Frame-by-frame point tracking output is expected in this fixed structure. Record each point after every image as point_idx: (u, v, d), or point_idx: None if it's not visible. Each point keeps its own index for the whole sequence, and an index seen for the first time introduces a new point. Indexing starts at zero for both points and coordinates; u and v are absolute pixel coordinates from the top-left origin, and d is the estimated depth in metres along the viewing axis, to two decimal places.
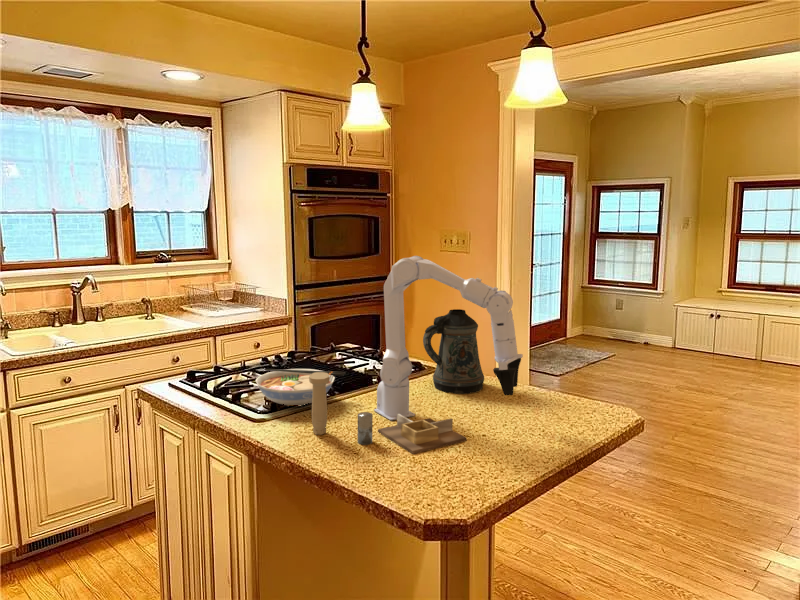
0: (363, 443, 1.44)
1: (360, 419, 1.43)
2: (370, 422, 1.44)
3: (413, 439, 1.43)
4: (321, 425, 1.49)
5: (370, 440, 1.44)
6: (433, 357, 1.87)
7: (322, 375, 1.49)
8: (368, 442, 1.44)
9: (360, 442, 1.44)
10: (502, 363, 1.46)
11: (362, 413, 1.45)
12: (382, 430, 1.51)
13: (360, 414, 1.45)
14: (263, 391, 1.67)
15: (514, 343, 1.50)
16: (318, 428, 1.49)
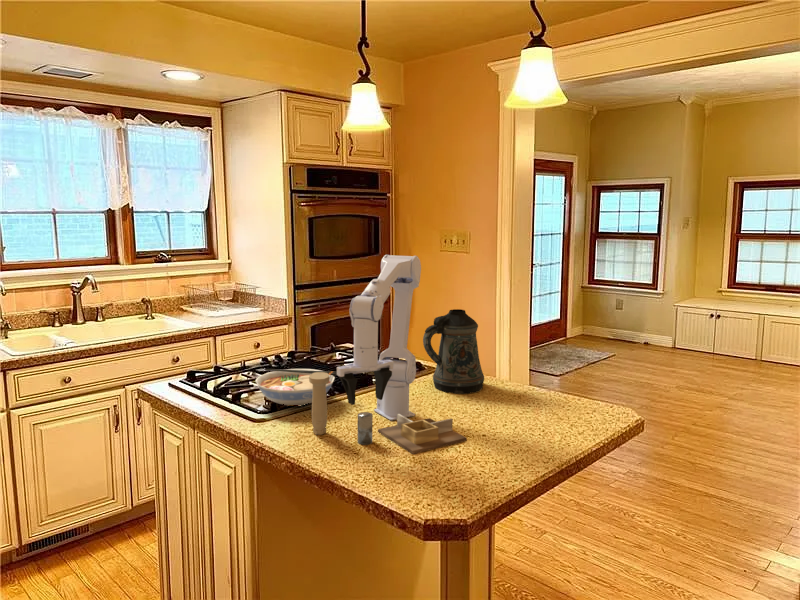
0: (363, 443, 1.44)
1: (360, 419, 1.43)
2: (370, 422, 1.44)
3: (413, 439, 1.43)
4: (321, 425, 1.49)
5: (370, 440, 1.44)
6: (433, 357, 1.87)
7: (322, 375, 1.49)
8: (368, 442, 1.44)
9: (360, 442, 1.44)
10: (338, 369, 1.39)
11: (362, 413, 1.45)
12: (382, 430, 1.51)
13: (360, 414, 1.45)
14: (263, 391, 1.67)
15: (367, 353, 1.39)
16: (318, 428, 1.49)
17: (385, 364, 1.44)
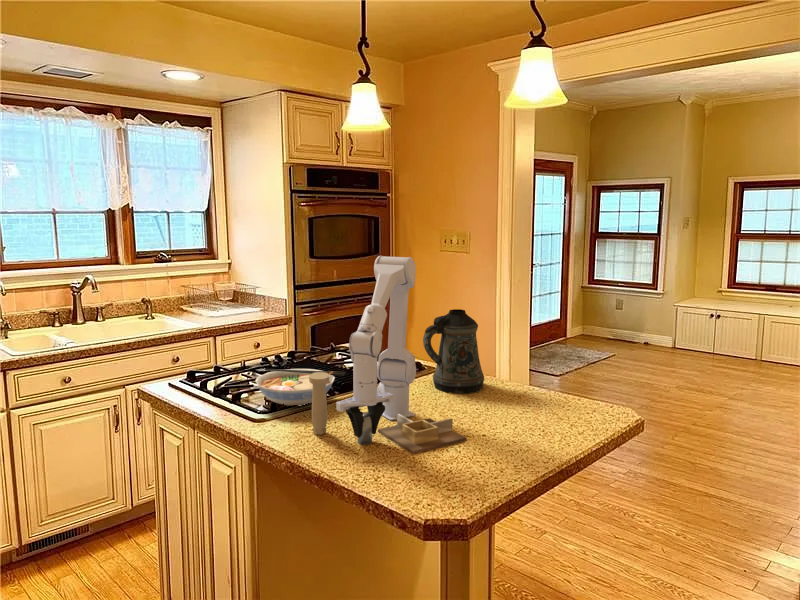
0: (363, 443, 1.44)
1: None
2: (370, 422, 1.44)
3: (413, 439, 1.43)
4: (321, 425, 1.49)
5: (370, 440, 1.44)
6: (433, 357, 1.87)
7: (322, 375, 1.49)
8: (368, 442, 1.44)
9: (360, 442, 1.44)
10: (338, 404, 1.40)
11: None
12: (382, 430, 1.51)
13: None
14: (263, 391, 1.67)
15: (366, 388, 1.41)
16: (318, 428, 1.49)
17: (384, 398, 1.45)
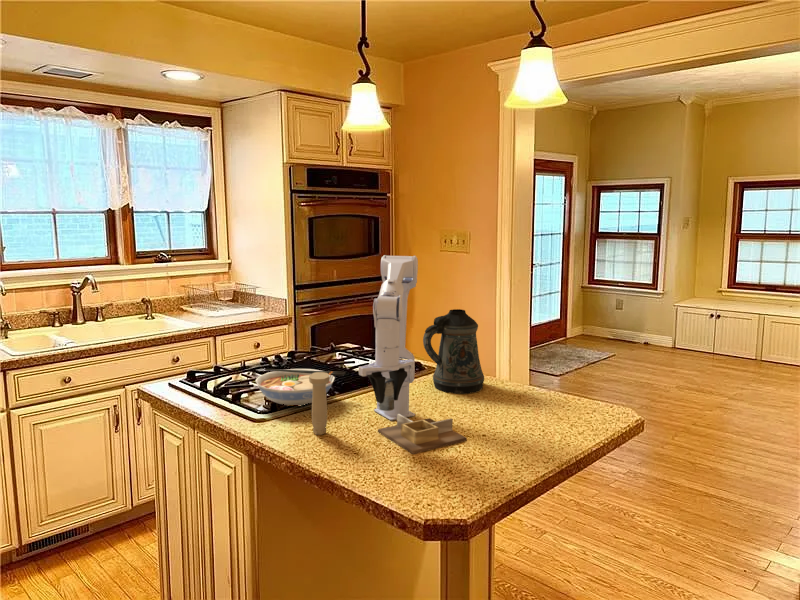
0: (385, 409, 1.43)
1: None
2: (392, 388, 1.43)
3: (413, 439, 1.43)
4: (321, 425, 1.49)
5: (392, 406, 1.44)
6: (433, 357, 1.87)
7: (322, 375, 1.49)
8: (390, 408, 1.43)
9: (382, 408, 1.43)
10: (360, 368, 1.40)
11: None
12: (382, 430, 1.51)
13: None
14: (263, 391, 1.67)
15: (388, 353, 1.40)
16: (318, 428, 1.49)
17: (406, 364, 1.44)
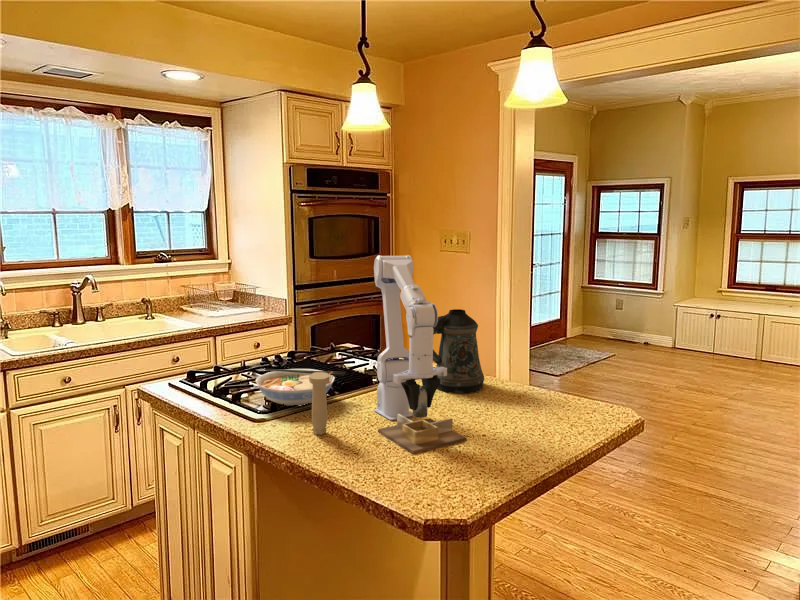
0: (419, 416, 1.44)
1: None
2: (426, 395, 1.44)
3: (413, 439, 1.43)
4: (321, 425, 1.49)
5: (426, 413, 1.45)
6: (433, 357, 1.87)
7: (322, 375, 1.49)
8: (424, 415, 1.44)
9: (416, 415, 1.44)
10: (395, 376, 1.41)
11: None
12: (382, 430, 1.51)
13: None
14: (263, 391, 1.67)
15: (423, 361, 1.41)
16: (318, 428, 1.49)
17: (439, 371, 1.46)
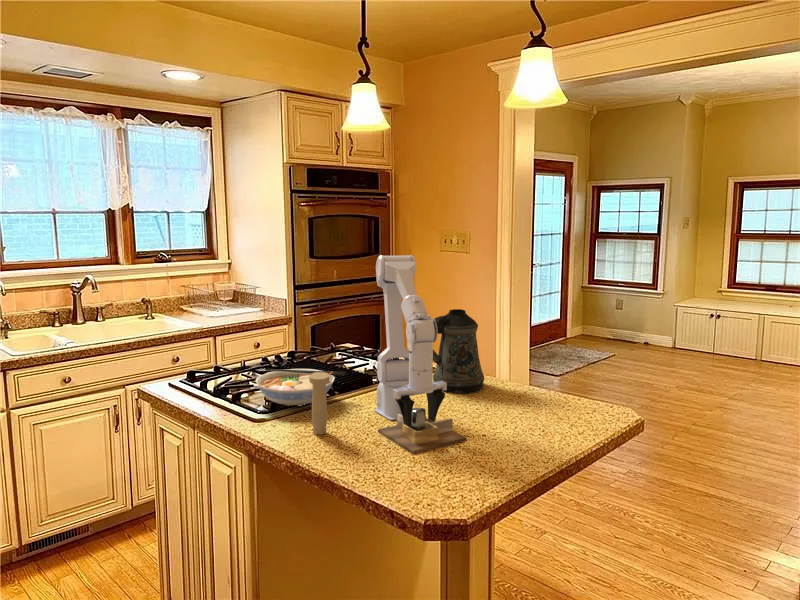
0: None
1: (413, 414, 1.44)
2: (424, 417, 1.45)
3: (413, 439, 1.43)
4: (321, 425, 1.49)
5: None
6: (433, 357, 1.87)
7: (322, 375, 1.49)
8: None
9: None
10: (395, 391, 1.41)
11: (415, 409, 1.47)
12: (382, 430, 1.51)
13: (413, 410, 1.46)
14: (263, 391, 1.67)
15: (422, 376, 1.42)
16: (318, 428, 1.49)
17: (439, 386, 1.46)
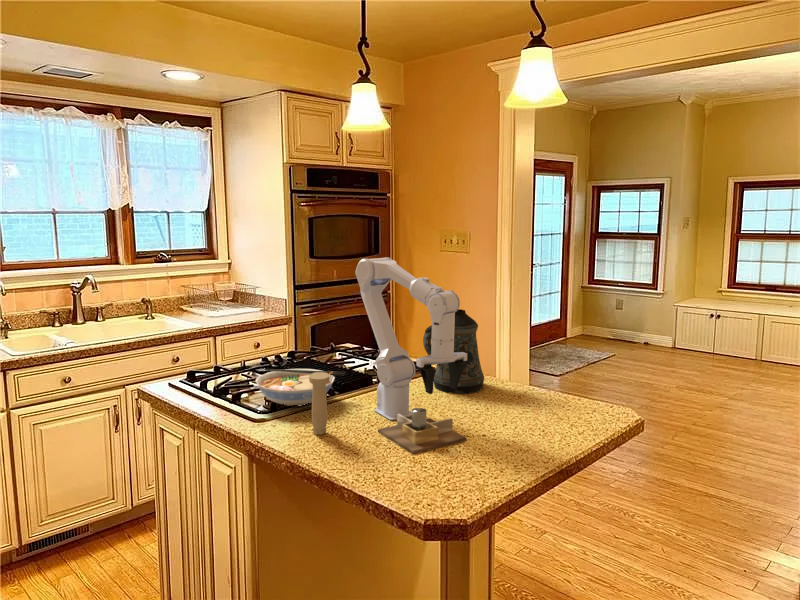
0: None
1: (414, 414, 1.44)
2: (424, 418, 1.45)
3: (413, 439, 1.43)
4: (321, 425, 1.49)
5: None
6: None
7: (322, 375, 1.49)
8: None
9: None
10: (418, 360, 1.48)
11: (416, 409, 1.46)
12: (382, 430, 1.51)
13: (414, 410, 1.46)
14: (263, 391, 1.67)
15: (445, 345, 1.49)
16: (318, 428, 1.49)
17: (460, 356, 1.53)
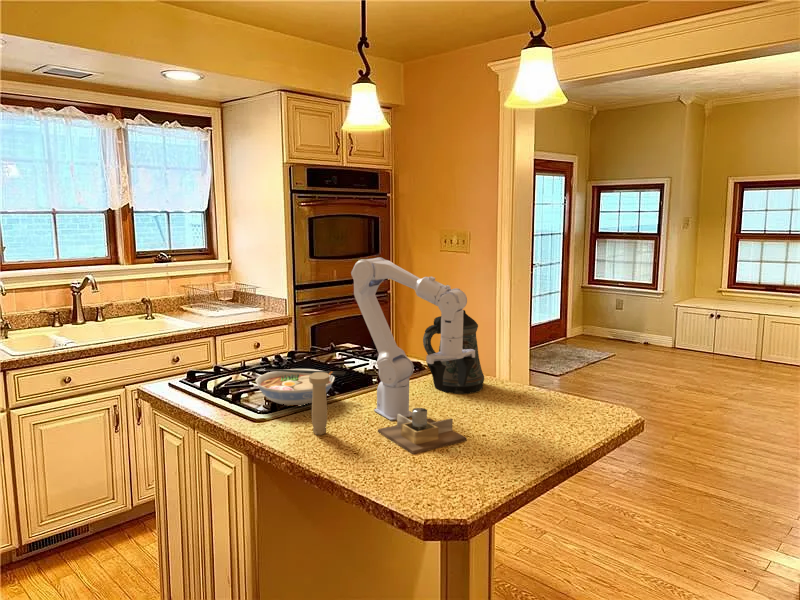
0: None
1: (414, 414, 1.44)
2: (425, 418, 1.45)
3: (413, 439, 1.43)
4: (321, 425, 1.49)
5: None
6: None
7: (322, 375, 1.49)
8: None
9: None
10: (428, 357, 1.51)
11: (417, 409, 1.46)
12: (382, 430, 1.51)
13: (415, 410, 1.46)
14: (263, 391, 1.67)
15: (454, 342, 1.52)
16: (318, 428, 1.49)
17: (468, 353, 1.56)
